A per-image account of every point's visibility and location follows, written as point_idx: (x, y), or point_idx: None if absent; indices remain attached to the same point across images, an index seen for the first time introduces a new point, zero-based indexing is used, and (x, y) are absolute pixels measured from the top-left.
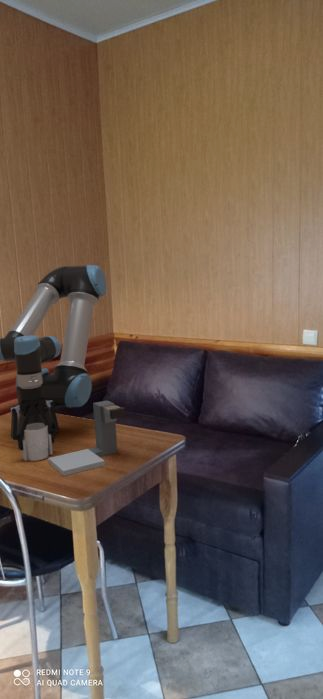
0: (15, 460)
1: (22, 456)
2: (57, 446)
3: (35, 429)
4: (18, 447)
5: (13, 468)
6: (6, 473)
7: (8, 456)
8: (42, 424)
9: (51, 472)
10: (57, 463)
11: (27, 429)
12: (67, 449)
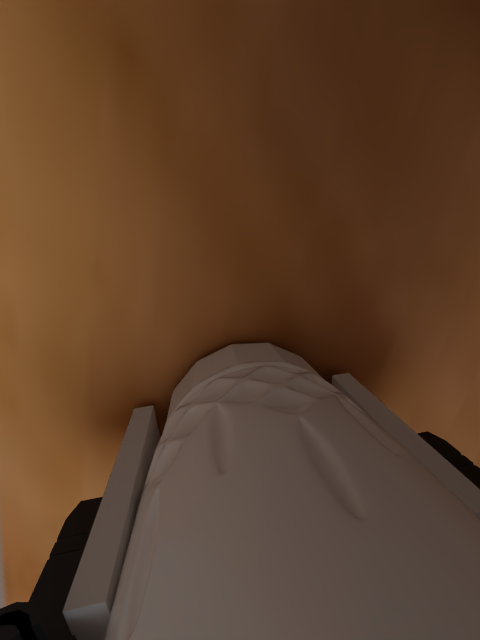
0: (78, 393)
1: (131, 422)
2: (439, 243)
3: (401, 522)
4: (65, 539)
5: (59, 529)
6: (10, 587)
7: (13, 263)
8: None
9: None
10: None
11: (224, 629)
12: (460, 349)
